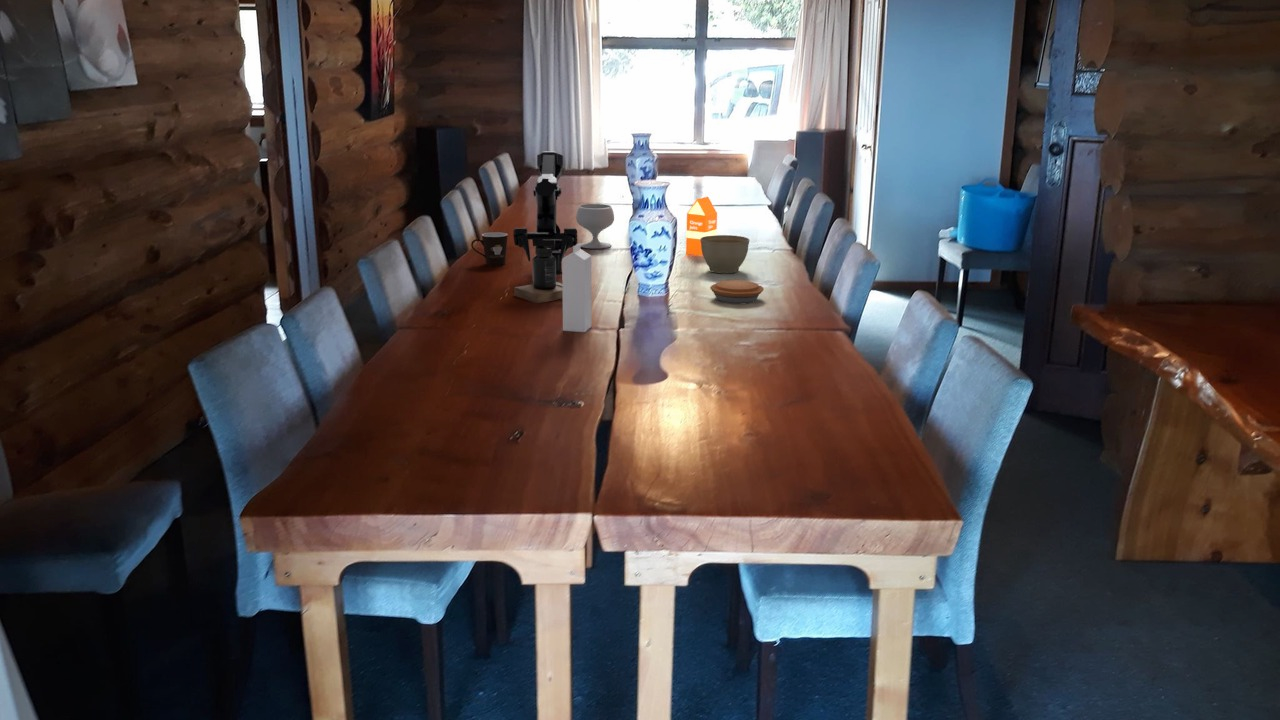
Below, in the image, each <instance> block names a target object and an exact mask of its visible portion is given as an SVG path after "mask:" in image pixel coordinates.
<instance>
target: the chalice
mask: <svg viewBox="0 0 1280 720" xmlns="http://www.w3.org/2000/svg"><path fill="white" fill-rule="evenodd" d="M614 213H615V212H614V210H613V208H612V205H609V204H605V203H604V204H603V203H602V204H601V203H589V204H588V203H587V204H585V203H584V204H580V205H579V206H578V208H577V211H576V217H575V220H576V223H578V225H579V226H580V227H581V228H584V229H585V230H587V231H588V232H590V234H591V235H592V239H591V241H588V242H586V241H585V242H582V243H580V248H583V249H591V250H592V249H595V250H596V249H597V250H599V249H600V250H601V249H607V248H610V247H612V244H611V243H607V242H604V241H603V242H602V241H600V240H599V239H598V237H599V235H600V233H601V232H603V231H604V230H606V229H607V228H609V227H610V226H612V224H614V221H615V214H614Z"/></svg>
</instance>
